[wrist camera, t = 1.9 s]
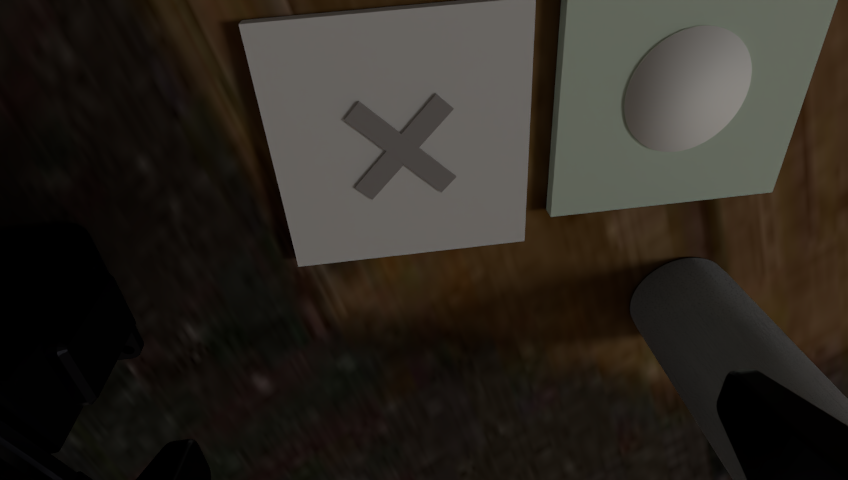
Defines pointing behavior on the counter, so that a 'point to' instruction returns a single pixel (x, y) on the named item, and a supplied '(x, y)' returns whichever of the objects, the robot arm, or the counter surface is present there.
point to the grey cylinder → (720, 345)
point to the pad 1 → (397, 125)
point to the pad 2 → (677, 98)
